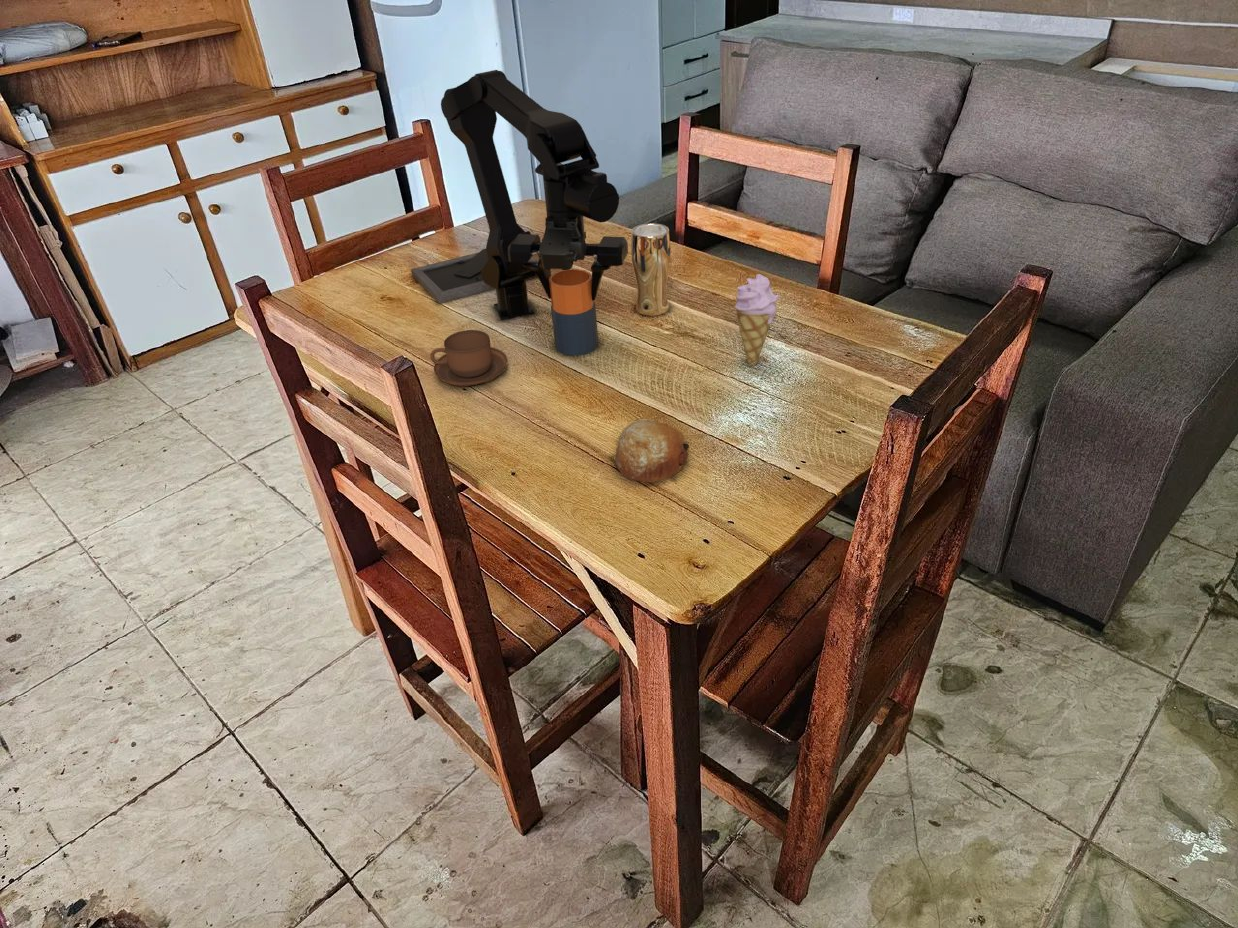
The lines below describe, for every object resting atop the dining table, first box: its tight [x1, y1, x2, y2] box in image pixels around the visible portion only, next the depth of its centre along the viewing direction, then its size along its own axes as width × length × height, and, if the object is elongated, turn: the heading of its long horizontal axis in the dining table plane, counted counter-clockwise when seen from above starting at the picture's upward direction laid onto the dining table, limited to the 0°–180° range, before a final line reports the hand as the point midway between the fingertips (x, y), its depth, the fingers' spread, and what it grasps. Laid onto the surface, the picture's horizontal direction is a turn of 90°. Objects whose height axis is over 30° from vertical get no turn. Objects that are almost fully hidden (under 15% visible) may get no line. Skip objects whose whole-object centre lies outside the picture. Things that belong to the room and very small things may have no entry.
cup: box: [549, 268, 595, 315], centre depth 138 cm, size 7×7×5 cm
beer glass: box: [630, 223, 671, 317], centre depth 149 cm, size 7×7×15 cm
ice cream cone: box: [734, 273, 782, 366], centre depth 131 cm, size 7×6×15 cm
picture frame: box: [410, 248, 538, 304], centre depth 169 cm, size 16×2×21 cm
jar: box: [550, 301, 599, 357], centre depth 141 cm, size 7×8×8 cm
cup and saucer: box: [429, 329, 508, 387], centre depth 135 cm, size 12×12×6 cm
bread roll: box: [613, 417, 690, 483], centre depth 114 cm, size 10×10×8 cm
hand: (572, 298), depth 138 cm, fingers closed on cup, 7 cm apart
